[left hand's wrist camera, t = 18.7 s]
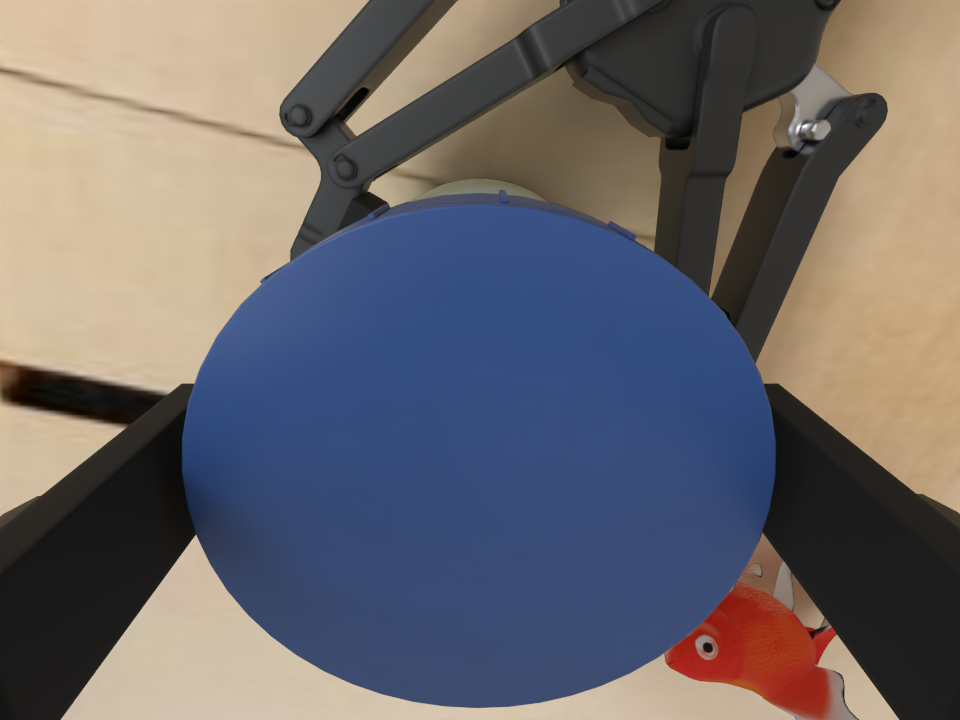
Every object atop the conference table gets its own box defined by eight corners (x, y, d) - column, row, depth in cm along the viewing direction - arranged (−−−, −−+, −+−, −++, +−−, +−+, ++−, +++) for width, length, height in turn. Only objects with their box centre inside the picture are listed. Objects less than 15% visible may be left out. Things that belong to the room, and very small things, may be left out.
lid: (716, 609, 14) (756, 686, 12) (299, 646, 15) (270, 727, 13) (740, 156, 10) (806, 160, 8) (161, 230, 11) (84, 250, 9)
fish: (732, 482, 24) (906, 752, 18) (901, 477, 31) (1063, 662, 25) (597, 584, 30) (688, 806, 24) (764, 559, 38) (866, 722, 32)
